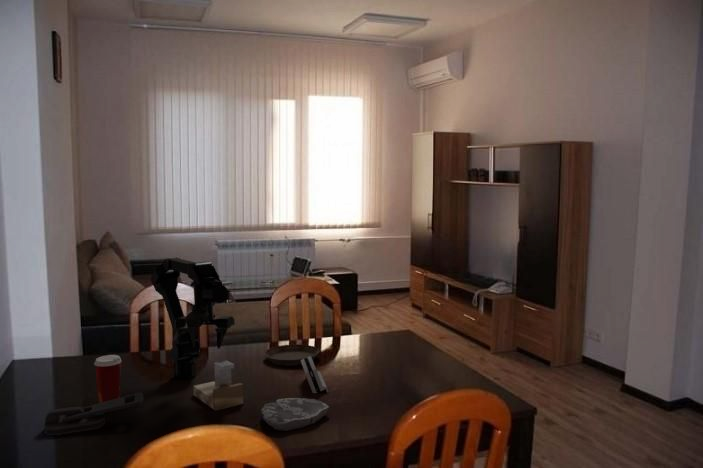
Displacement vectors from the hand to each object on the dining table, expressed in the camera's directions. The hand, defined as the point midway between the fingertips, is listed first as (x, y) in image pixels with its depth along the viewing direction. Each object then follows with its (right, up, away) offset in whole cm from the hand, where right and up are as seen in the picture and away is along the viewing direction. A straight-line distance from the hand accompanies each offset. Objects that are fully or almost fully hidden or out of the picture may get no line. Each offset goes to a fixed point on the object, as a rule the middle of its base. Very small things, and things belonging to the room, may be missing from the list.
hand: (206, 348), depth 188 cm
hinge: (+35, -13, +2) cm, 37 cm away
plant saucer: (+25, -11, +31) cm, 41 cm away
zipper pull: (-23, -16, -29) cm, 40 cm away
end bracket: (+9, -14, -14) cm, 21 cm away
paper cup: (-26, -14, -14) cm, 32 cm away
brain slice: (+30, -15, -25) cm, 42 cm away
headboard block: (+6, -14, -10) cm, 18 cm away
